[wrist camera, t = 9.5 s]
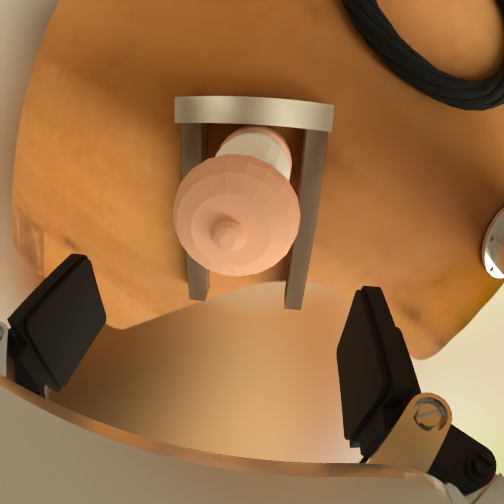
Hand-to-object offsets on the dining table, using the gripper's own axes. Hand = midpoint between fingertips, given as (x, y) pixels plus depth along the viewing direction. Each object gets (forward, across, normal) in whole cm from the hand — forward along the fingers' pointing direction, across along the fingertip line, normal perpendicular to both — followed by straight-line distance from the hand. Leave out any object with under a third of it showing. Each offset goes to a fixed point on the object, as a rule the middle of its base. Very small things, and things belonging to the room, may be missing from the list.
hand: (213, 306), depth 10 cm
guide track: (+24, +1, +5) cm, 24 cm away
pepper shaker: (+24, +1, 0) cm, 24 cm away
